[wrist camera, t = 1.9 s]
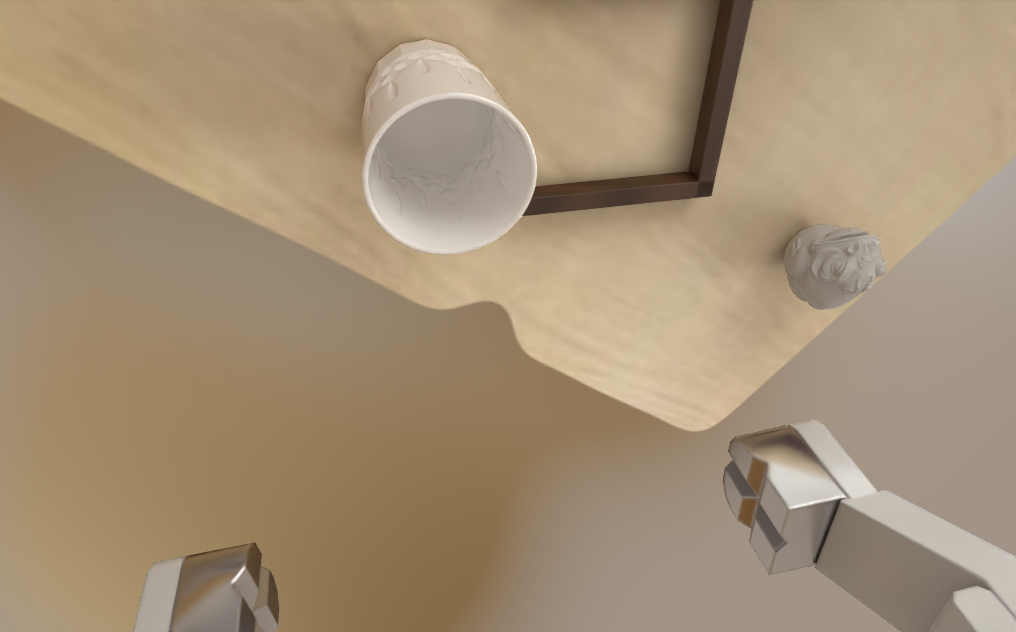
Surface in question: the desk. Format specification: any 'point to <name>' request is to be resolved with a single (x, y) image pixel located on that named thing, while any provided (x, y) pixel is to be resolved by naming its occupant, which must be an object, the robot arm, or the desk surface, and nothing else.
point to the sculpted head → (832, 264)
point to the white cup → (442, 152)
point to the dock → (706, 141)
